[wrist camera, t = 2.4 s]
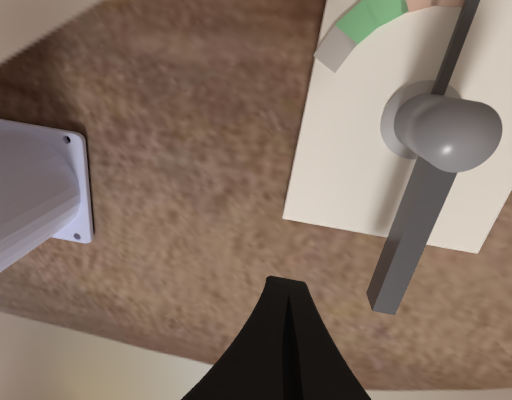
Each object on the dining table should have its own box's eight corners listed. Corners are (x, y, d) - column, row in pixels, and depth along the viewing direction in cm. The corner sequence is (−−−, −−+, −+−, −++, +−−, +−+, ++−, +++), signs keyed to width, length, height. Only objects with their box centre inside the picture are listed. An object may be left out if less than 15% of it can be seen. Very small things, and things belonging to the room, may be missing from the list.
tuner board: (280, 211, 20) (279, 219, 19) (331, -44, 14) (334, -53, 13) (468, 245, 19) (479, 255, 18) (596, -6, 14) (622, -12, 13)
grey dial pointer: (445, -37, 13) (505, -77, 9) (512, -27, 13) (598, -64, 9) (346, 267, 20) (358, 313, 16) (389, 275, 19) (412, 323, 16)
